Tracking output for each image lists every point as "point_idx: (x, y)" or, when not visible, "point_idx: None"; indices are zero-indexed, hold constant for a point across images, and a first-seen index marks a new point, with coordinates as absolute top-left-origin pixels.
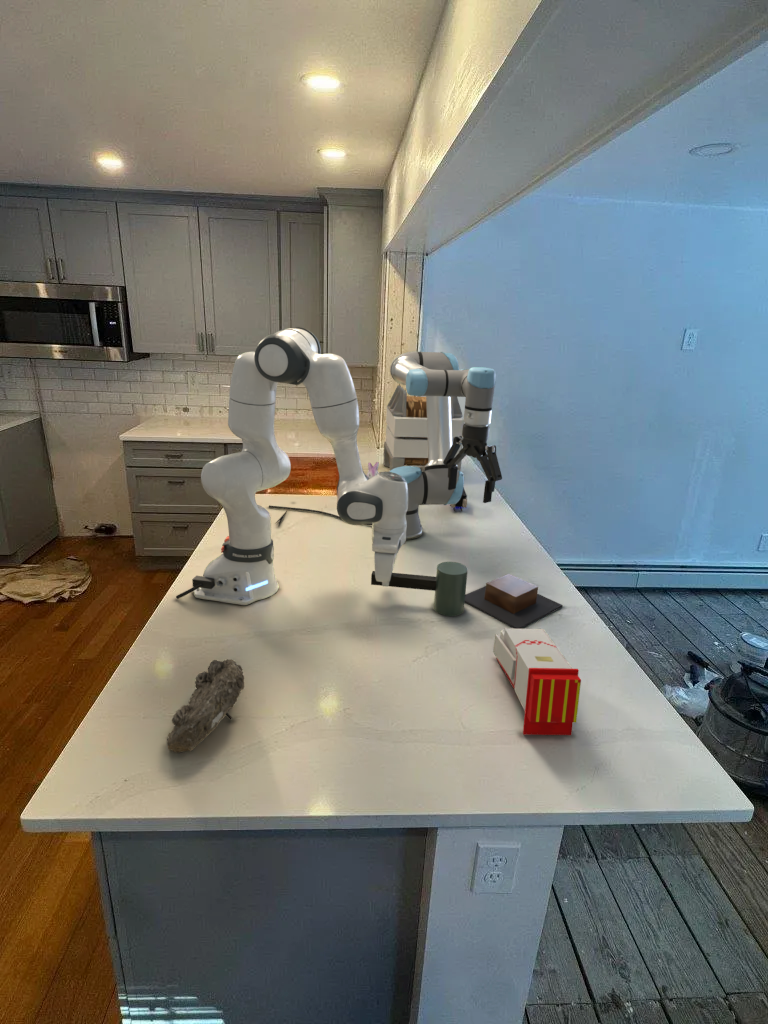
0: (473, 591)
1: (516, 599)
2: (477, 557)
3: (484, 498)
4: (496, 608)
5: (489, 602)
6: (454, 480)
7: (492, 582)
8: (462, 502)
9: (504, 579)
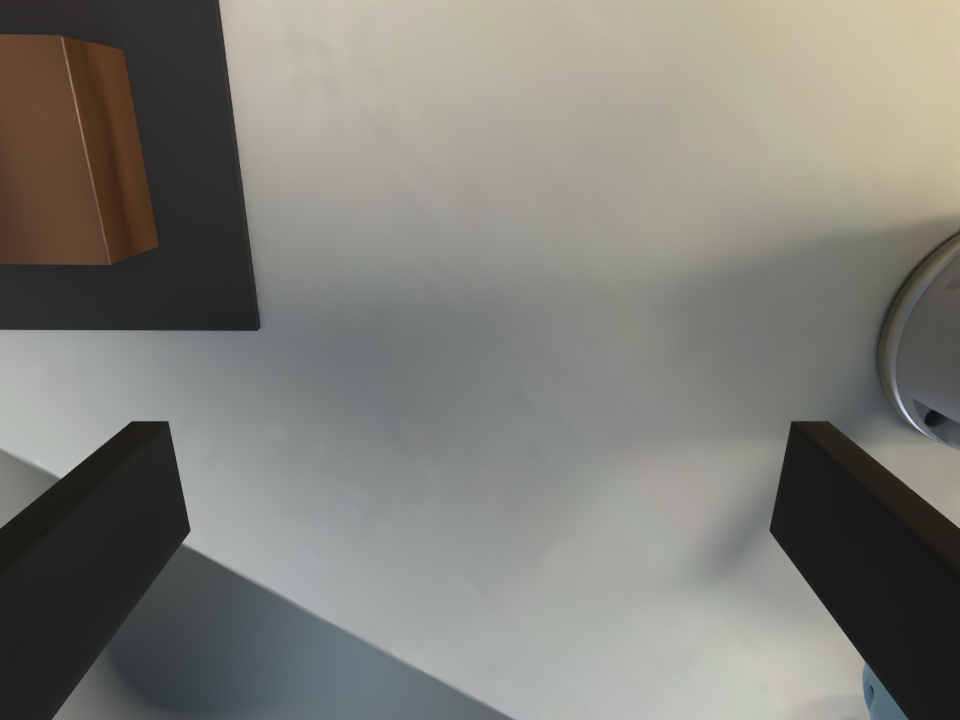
0: (221, 72)
1: None
2: (512, 418)
3: (114, 454)
4: (8, 17)
5: None
6: (850, 583)
7: (49, 76)
8: None
9: (55, 176)
